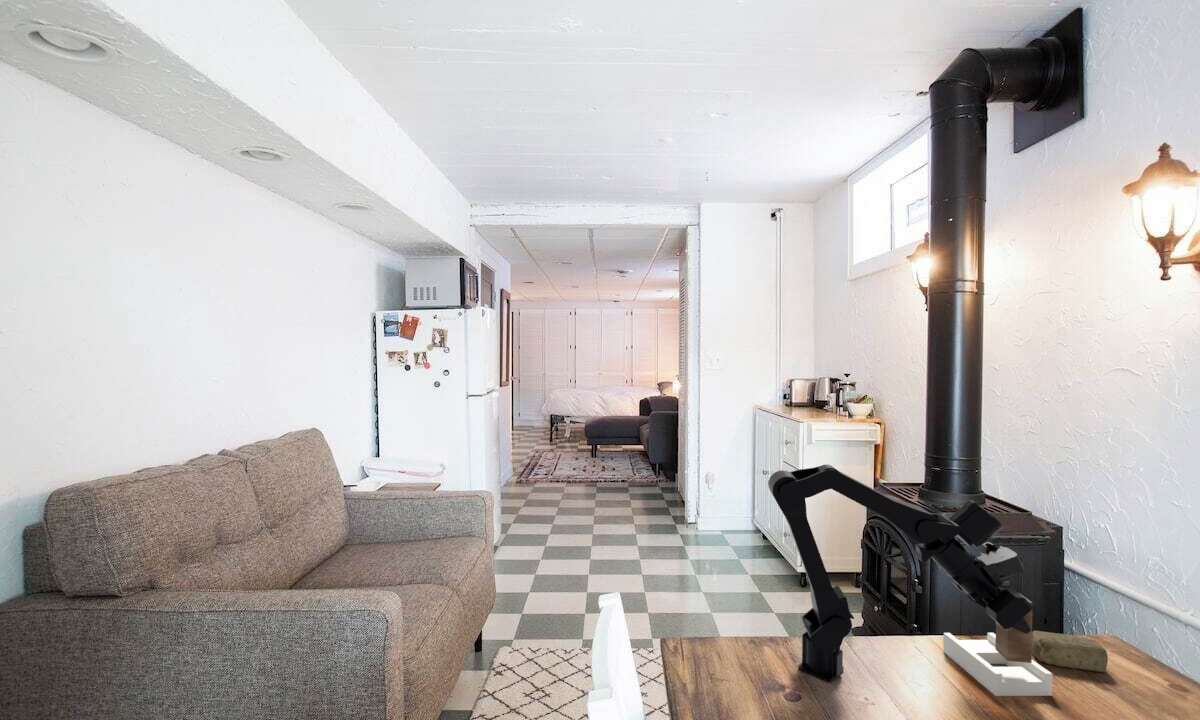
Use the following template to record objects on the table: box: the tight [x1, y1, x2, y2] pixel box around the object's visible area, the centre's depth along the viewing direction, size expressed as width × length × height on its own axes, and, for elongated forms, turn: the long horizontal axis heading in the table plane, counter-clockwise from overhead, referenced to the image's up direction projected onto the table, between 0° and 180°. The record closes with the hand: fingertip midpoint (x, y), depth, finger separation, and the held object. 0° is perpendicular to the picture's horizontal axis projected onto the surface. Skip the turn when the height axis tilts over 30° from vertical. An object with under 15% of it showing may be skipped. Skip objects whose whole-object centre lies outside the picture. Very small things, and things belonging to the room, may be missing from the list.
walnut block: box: [995, 592, 1034, 663], centre depth 104 cm, size 4×4×11 cm
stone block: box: [1032, 630, 1109, 672], centre depth 113 cm, size 6×12×5 cm, turn 72°
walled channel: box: [942, 632, 1053, 697], centre depth 109 cm, size 10×15×4 cm
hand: (1021, 626), depth 104 cm, fingers closed on walnut block, 4 cm apart
